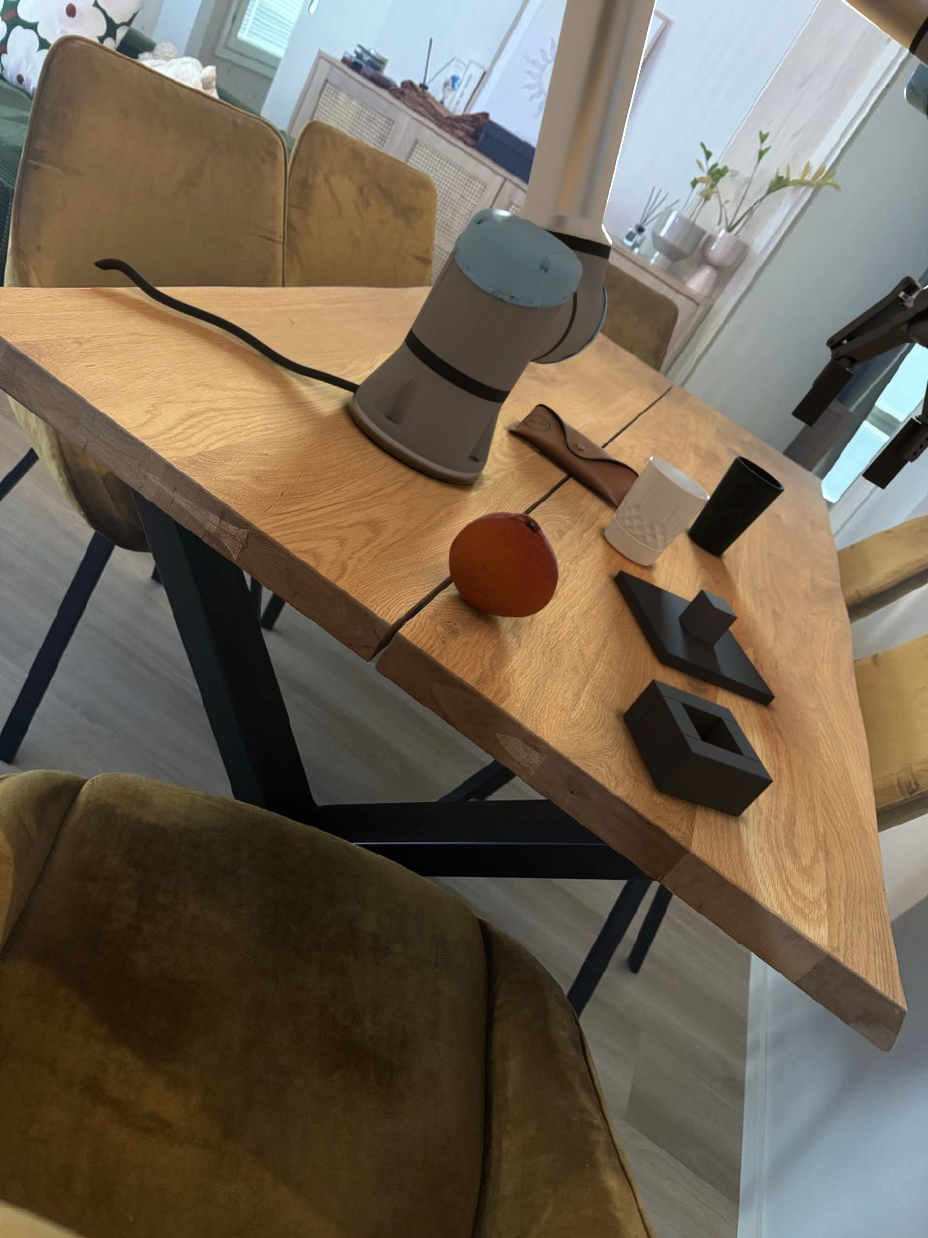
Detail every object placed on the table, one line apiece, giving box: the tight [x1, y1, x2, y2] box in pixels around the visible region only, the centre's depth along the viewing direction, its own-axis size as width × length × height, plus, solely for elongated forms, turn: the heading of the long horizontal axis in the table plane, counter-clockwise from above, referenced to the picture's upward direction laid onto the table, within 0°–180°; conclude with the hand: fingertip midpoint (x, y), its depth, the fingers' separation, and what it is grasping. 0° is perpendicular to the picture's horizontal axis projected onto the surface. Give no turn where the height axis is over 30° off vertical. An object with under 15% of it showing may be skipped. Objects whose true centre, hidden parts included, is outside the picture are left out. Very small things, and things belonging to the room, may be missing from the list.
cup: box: [687, 455, 785, 557], centre depth 123 cm, size 8×8×12 cm
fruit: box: [448, 511, 560, 618], centre depth 71 cm, size 9×9×8 cm
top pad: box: [622, 678, 774, 817], centre depth 68 cm, size 8×8×4 cm
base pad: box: [613, 569, 776, 706], centre depth 91 cm, size 14×14×5 cm
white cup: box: [603, 456, 710, 567], centre depth 103 cm, size 8×8×10 cm
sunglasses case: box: [509, 403, 640, 508], centre depth 119 cm, size 18×7×7 cm
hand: (834, 450), depth 91 cm, fingers open, 13 cm apart
